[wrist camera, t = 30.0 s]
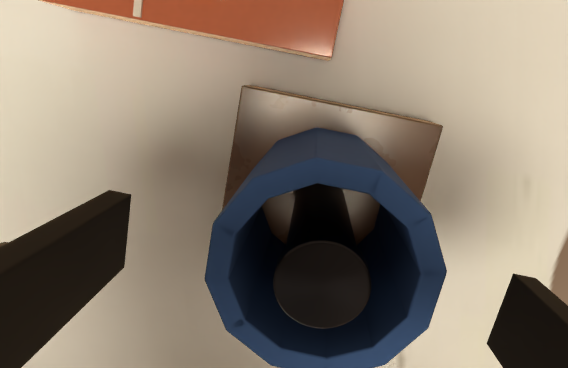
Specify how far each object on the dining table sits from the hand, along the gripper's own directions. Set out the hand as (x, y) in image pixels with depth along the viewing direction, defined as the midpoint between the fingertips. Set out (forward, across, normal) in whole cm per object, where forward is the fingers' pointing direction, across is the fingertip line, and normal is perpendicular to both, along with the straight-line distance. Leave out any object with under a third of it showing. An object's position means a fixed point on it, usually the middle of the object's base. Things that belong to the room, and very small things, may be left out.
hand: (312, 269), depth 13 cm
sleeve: (+7, 0, 0) cm, 7 cm away
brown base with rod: (+9, 0, 0) cm, 9 cm away
